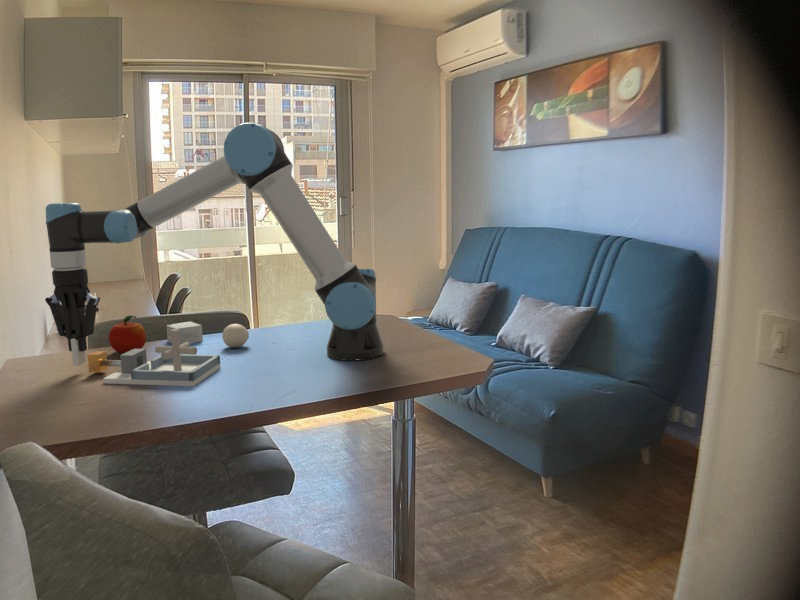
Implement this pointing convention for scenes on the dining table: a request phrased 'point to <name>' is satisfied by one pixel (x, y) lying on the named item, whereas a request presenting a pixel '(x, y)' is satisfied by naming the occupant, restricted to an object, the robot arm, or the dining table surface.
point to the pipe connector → (176, 350)
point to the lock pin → (101, 362)
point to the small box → (186, 332)
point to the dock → (163, 369)
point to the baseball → (235, 335)
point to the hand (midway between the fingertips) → (79, 363)
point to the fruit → (127, 336)
